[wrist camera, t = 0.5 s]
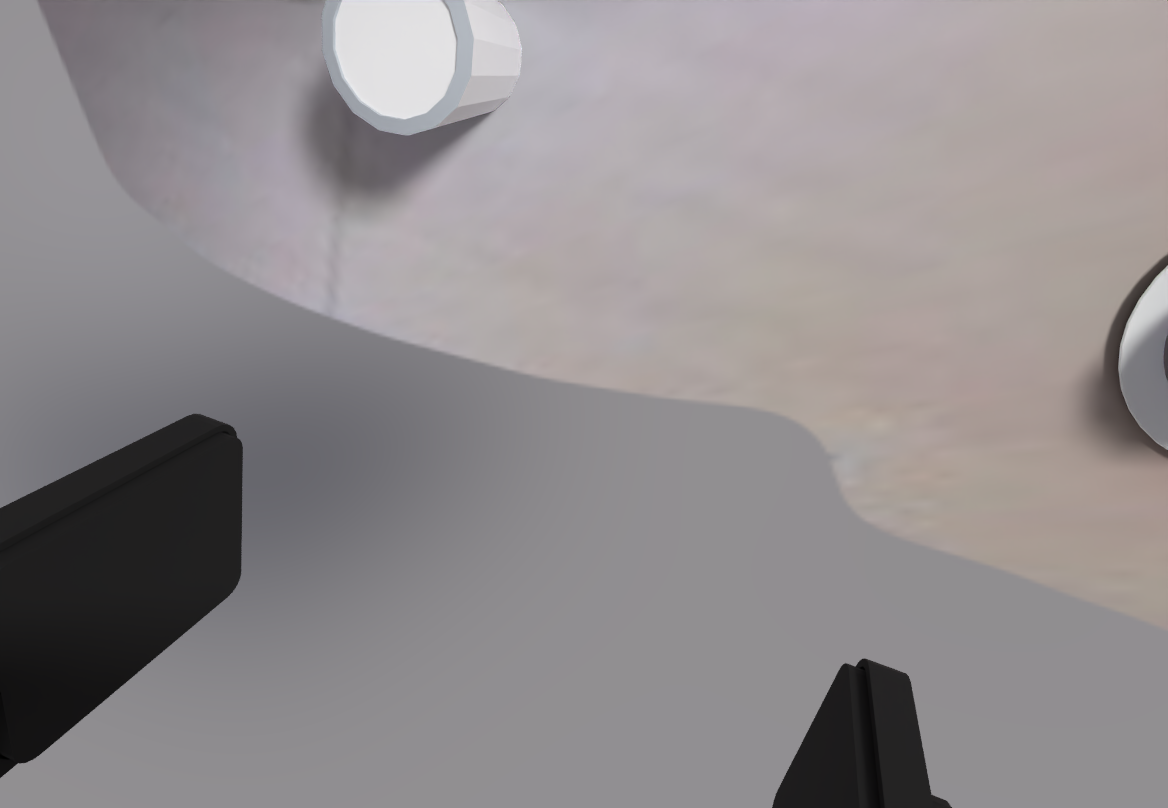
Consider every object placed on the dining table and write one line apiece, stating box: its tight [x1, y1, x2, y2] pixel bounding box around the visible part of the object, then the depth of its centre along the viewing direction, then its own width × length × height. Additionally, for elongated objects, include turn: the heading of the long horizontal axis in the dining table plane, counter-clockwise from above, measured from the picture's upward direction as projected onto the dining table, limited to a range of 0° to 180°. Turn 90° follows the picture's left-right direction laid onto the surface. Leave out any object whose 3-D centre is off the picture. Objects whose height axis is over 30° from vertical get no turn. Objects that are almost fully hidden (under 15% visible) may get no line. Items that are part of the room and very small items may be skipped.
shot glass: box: [322, 0, 522, 136], centre depth 32 cm, size 7×7×7 cm
